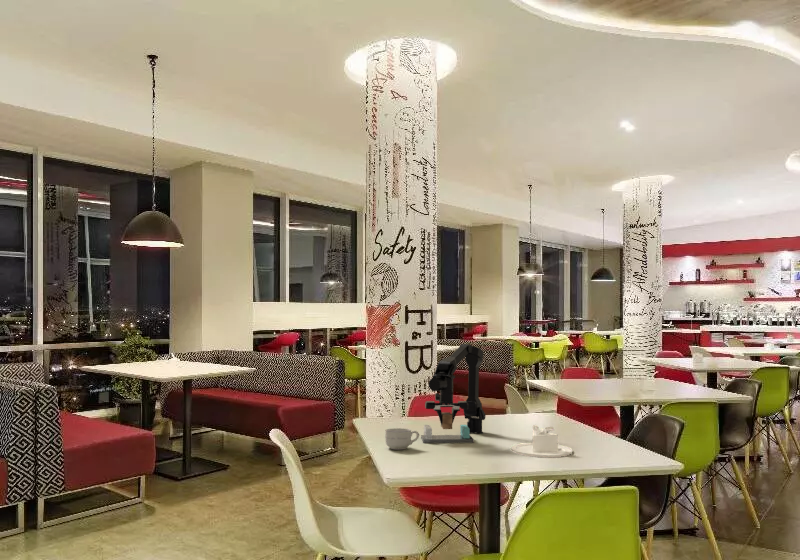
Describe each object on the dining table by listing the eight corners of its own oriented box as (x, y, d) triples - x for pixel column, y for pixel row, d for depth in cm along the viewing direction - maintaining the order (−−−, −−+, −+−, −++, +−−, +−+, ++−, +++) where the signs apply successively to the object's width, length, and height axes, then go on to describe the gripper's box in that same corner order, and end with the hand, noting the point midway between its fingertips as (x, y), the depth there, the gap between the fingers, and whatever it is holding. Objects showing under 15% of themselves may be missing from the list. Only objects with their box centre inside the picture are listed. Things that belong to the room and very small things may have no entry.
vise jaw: (465, 434, 290) (465, 424, 290) (469, 438, 280) (469, 428, 280) (460, 434, 289) (460, 424, 290) (463, 438, 279) (463, 428, 280)
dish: (583, 457, 254) (582, 428, 255) (522, 459, 250) (522, 429, 251) (557, 444, 278) (557, 418, 279) (502, 446, 274) (502, 419, 275)
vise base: (469, 438, 290) (469, 424, 290) (473, 442, 280) (473, 428, 280) (421, 438, 288) (421, 424, 289) (423, 442, 278) (423, 428, 279)
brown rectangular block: (449, 425, 288) (449, 412, 289) (452, 429, 280) (452, 415, 281) (440, 425, 288) (440, 412, 289) (443, 429, 280) (443, 415, 281)
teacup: (381, 450, 263) (381, 430, 264) (390, 445, 273) (390, 426, 274) (413, 452, 258) (413, 432, 259) (421, 447, 269) (422, 428, 269)
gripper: (464, 387, 294) (464, 421, 293) (423, 387, 293) (423, 421, 292) (468, 389, 283) (468, 425, 282) (426, 390, 282) (426, 426, 281)
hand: (446, 424), depth 284 cm, fingers closed on brown rectangular block, 4 cm apart
